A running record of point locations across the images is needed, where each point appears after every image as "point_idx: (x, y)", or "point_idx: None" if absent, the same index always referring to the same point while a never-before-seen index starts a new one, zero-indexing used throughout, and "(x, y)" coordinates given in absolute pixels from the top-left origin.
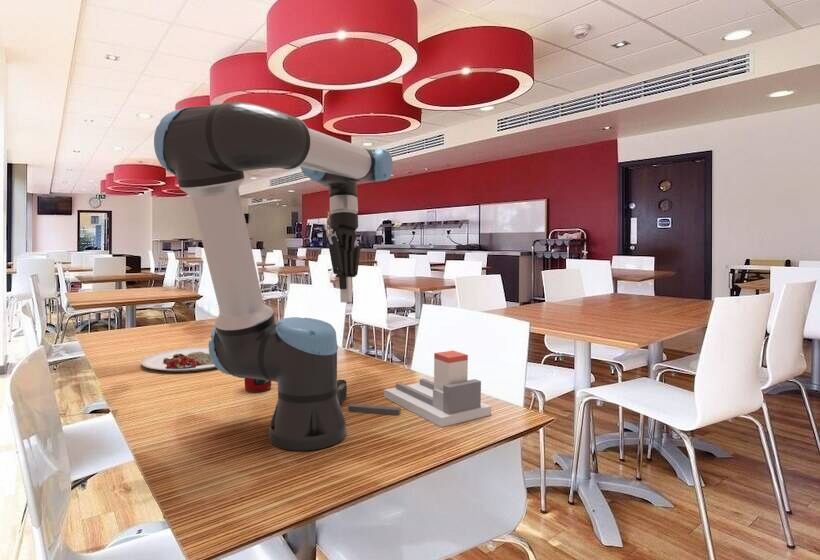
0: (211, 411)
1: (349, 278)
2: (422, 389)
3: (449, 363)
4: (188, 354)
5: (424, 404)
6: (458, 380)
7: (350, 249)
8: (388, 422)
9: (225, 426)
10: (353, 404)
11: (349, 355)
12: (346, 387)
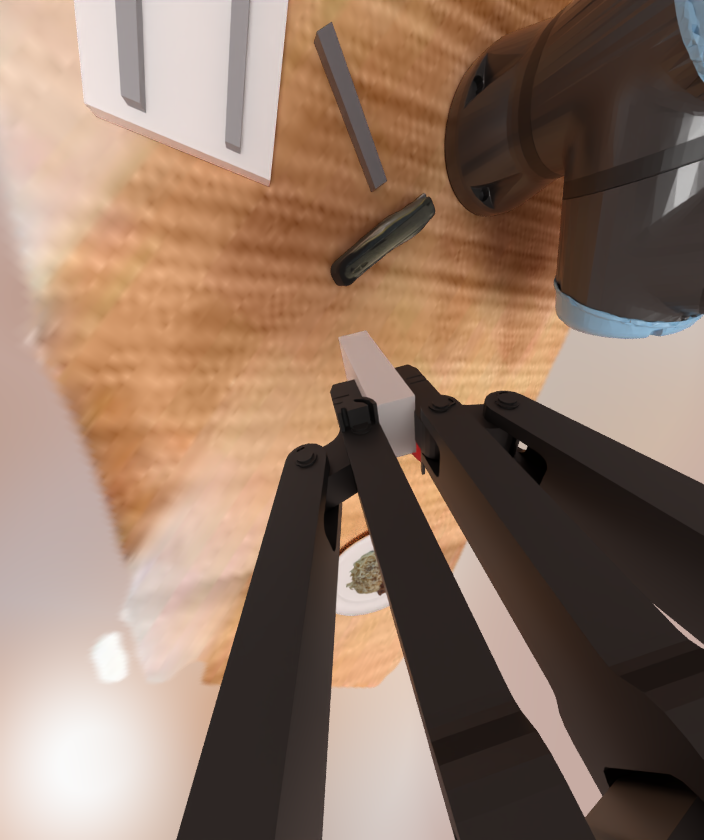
0: (486, 362)
1: (393, 393)
2: (172, 58)
3: None
4: (378, 589)
5: None
6: None
7: (557, 784)
8: (376, 23)
9: (513, 293)
10: (374, 179)
11: (141, 526)
12: (339, 260)
